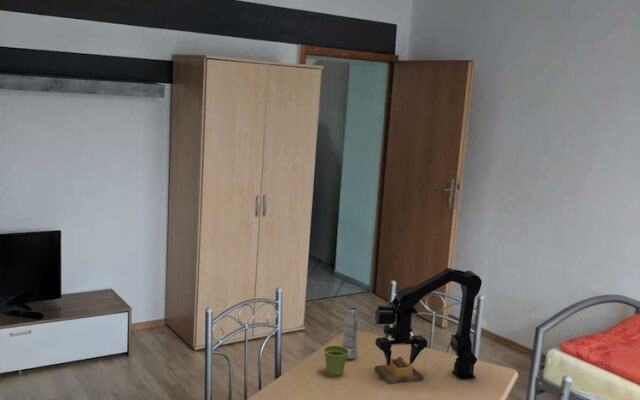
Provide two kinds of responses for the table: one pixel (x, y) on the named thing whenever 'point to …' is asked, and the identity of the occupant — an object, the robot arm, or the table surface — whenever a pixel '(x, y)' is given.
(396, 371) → the tan rectangular frame
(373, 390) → the table surface
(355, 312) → the plastic bottle
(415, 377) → the keeper board
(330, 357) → the plant pot
